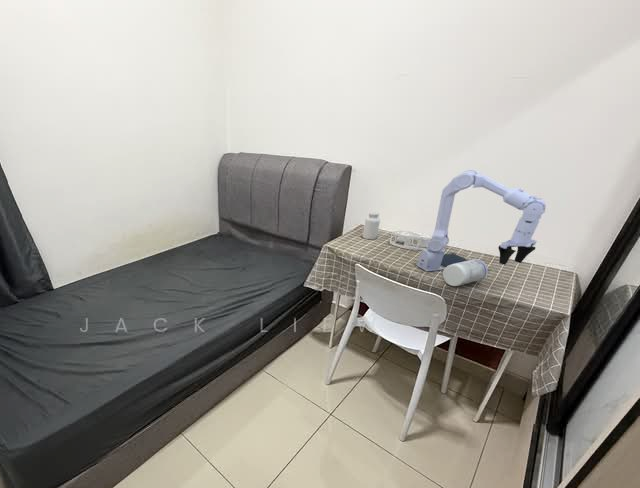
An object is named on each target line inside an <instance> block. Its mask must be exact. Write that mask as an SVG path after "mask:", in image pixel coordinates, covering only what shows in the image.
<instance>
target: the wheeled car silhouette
mask: <svg viewBox="0 0 640 488" xmlns="http://www.w3.org/2000/svg"><path fill="white" fill-rule="evenodd" d="M394 235H395V236H394ZM393 237H394V240H393ZM410 239H411V240H410ZM431 239H432V235H427V234H424V233H418V232H414V231H410V230H405V229H396V230H392V232H391V234H390V239H389V244H390V245H392V246H394V247H397V248H401V249H406V250H413V251H425V250H426V249H427V248H428V243H429V241H430V240H431ZM414 240H418V241H417V244H416V243H414ZM410 241H411V242H410ZM398 243H399V244H398ZM402 244H403V245H402Z"/></svg>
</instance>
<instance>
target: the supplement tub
mask: <svg viewBox="0 0 640 488" xmlns="http://www.w3.org/2000/svg"><path fill="white" fill-rule="evenodd" d="M488 273H489V269H488V266H487V264H486V263H485V262H484V261H482V260H481V259H476V258H475V259H469V260H468V261H464V262H460V263H455V264H451V265H449V266H447V267H445V268H444V270H442V279H443V280H444V282H445V283H446V284H447V285H448V286H452V287H460V286H464V285H467V284H471V283H476V282H478V281H482V280H484V279H485V278H486V277H487V276H488Z"/></svg>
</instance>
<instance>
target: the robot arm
mask: <svg viewBox="0 0 640 488" xmlns="http://www.w3.org/2000/svg"><path fill="white" fill-rule="evenodd" d="M470 187H472V188H473V189H475V188H484V189H485V190H488V191H490V192H492V193H494V194H496V195H498V196H500V197H502V201H503V202H504V203H505V204H507V205H509V206H512V207H513V208H514V209H516V210H519V211H522V212H523V213H522V215H521V217H520V218H519V219H518V221H517V224H516V226H515V229H514V230H513V232H512V235H511V238H510V239H508V240H506V241H504V242H501V244H500V245H498V247H497V248H498V251H499V264H501V265H502V266H505V265H507V263H508V262H509V260H510V258H511V257H512V256H513V255H514V254H515V253H516V254H515V257H514V262H515V263H519V264H521V263H522V262H523V261H524V260H525V259H526V258H527V256H529V255H530V254H531V253H532V252H534V251H535V250H536V247H535V246H536V244H537V242H538V241H537V240H535V239H532V238H533V235H534V234H535V232H536V229H537V227H538V225H539V223H540V220H541V219H542V216H543V214H545V212H546V207H547V203H546V201H545V200H544V199H542V198H541V197H537V195H531V194H529V193H528V192H525V189H523V188H522V187H521V188H518V187H515V188H509V187H507V186H505V185H503V184H502V183H500V182H498V181H496V180H495V179H493V178H491V177H489V176H487V175H485V174H483V173H481V172H476V171H475V170H473V169H467V170H465V171H464V172H462V173H460V174H458V175H456V176H455V177H453V178H452V180H450V182H448V184H447V185H446V186H445V187H444V188H443V189H442V191H441V195H440V201H439V206H438V212H437V217H436V222H435V227H434V230H433V233H432V235H431V237H432V239H431V240H430V241H429V243H428V248H427V249H426V250H425V251H423V250H421V252H420V253H419V255H418V259H417V262H416V263H415V266H417V267H419V268H420V269H422V270H423V271H425V272H434V271H444V269H445V268H444V267H442V265H441V262H442V259H443V256H444V255H445V253H446V249H445V247H446V246H447V245H448V244H449V242H450V239H449V225H450V221H451V215H452V211H453V206H454V202H455V197H456V194H458V193H459V192H460V191H464V190H466V189H468V188H470ZM513 248H517V250H515V249H513Z"/></svg>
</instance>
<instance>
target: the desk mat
mask: <svg viewBox="0 0 640 488" xmlns="http://www.w3.org/2000/svg"><path fill="white" fill-rule="evenodd" d="M464 261H469V260H468V259H466V258H465V257H461V256H460V255H457V254H455V253H446V254H445V253H444V256H443V259H442V262H441V265H440V266H443V267H445V268H446V267H447V266H449V265H451V264H455V263H460V262H464Z"/></svg>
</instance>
